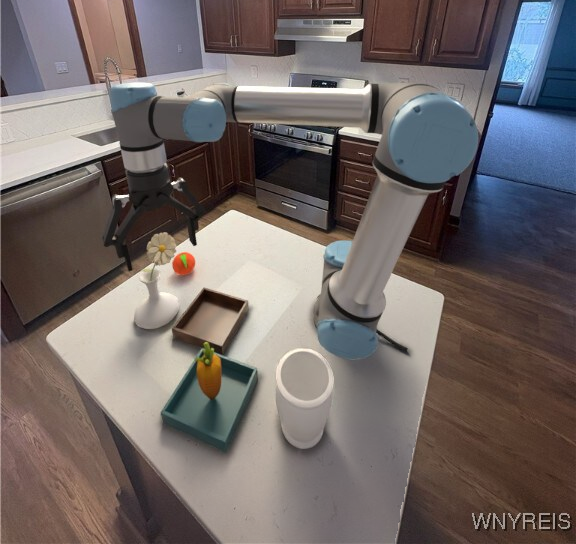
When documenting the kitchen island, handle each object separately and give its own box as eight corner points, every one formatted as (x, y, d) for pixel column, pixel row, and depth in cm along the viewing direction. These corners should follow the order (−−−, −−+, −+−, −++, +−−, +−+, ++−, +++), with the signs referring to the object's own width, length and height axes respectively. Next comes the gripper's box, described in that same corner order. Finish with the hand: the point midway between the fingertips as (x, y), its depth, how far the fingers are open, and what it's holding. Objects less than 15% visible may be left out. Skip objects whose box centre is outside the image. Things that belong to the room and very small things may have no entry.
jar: (265, 422, 62) (263, 373, 56) (300, 384, 69) (302, 336, 63) (304, 472, 55) (307, 422, 49) (339, 424, 62) (346, 375, 56)
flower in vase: (142, 341, 78) (123, 262, 68) (130, 312, 86) (111, 237, 76) (192, 314, 85) (181, 238, 75) (176, 289, 93) (164, 218, 84)
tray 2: (258, 377, 70) (257, 367, 68) (226, 452, 57) (225, 442, 56) (203, 357, 74) (201, 347, 73) (162, 423, 62) (160, 412, 60)
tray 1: (248, 309, 87) (248, 300, 85) (222, 356, 74) (221, 346, 73) (204, 296, 91) (203, 287, 90) (173, 337, 79) (171, 328, 77)
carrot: (219, 413, 63) (213, 364, 57) (196, 408, 64) (188, 358, 58) (228, 388, 67) (223, 339, 62) (207, 383, 68) (200, 335, 62)
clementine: (199, 277, 98) (197, 259, 95) (177, 285, 95) (173, 267, 92) (193, 262, 104) (191, 244, 101) (171, 269, 101) (168, 251, 98)
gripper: (200, 146, 70) (209, 226, 78) (67, 175, 56) (95, 268, 64) (215, 157, 64) (222, 241, 72) (71, 191, 50) (101, 291, 59)
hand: (163, 254), depth 68 cm, fingers open, 13 cm apart
